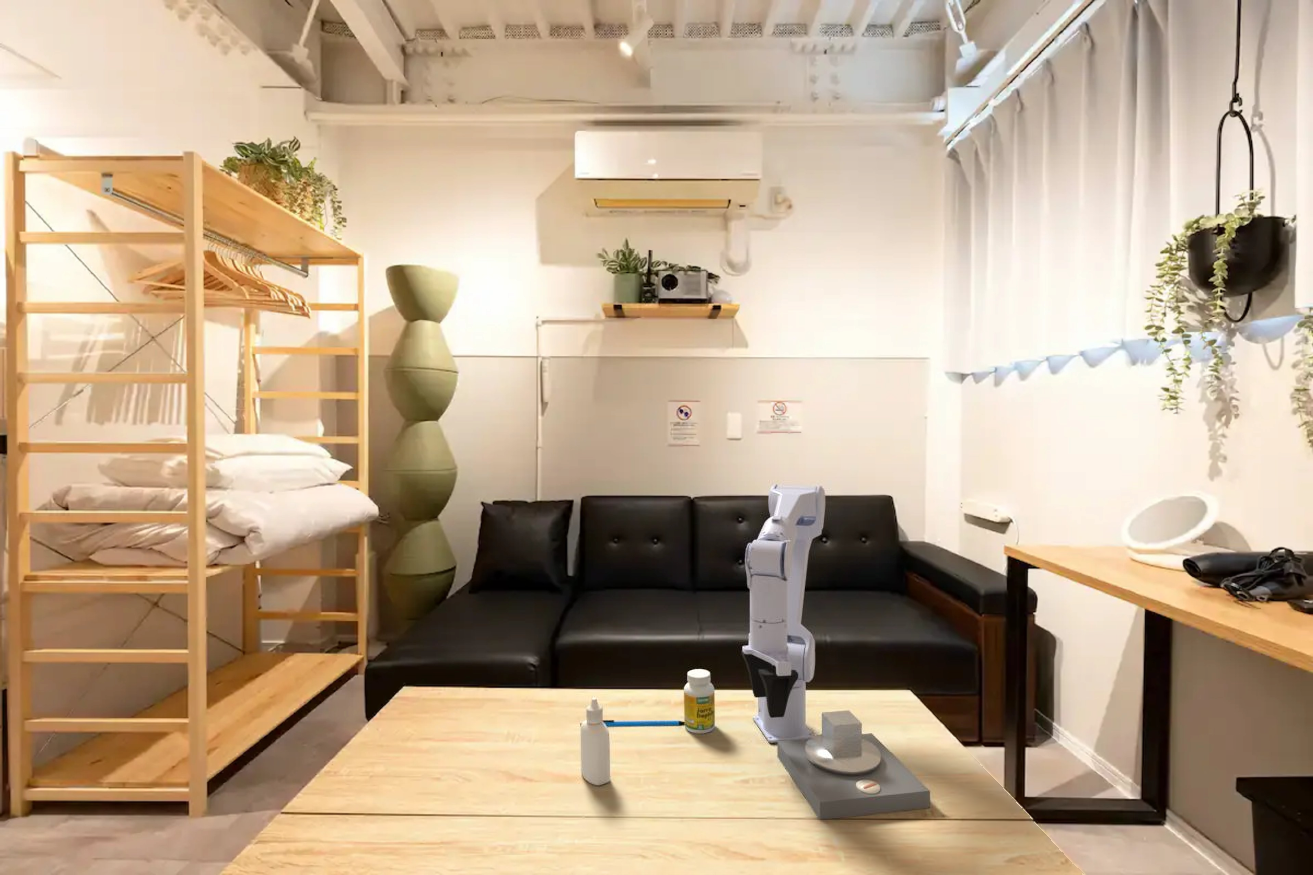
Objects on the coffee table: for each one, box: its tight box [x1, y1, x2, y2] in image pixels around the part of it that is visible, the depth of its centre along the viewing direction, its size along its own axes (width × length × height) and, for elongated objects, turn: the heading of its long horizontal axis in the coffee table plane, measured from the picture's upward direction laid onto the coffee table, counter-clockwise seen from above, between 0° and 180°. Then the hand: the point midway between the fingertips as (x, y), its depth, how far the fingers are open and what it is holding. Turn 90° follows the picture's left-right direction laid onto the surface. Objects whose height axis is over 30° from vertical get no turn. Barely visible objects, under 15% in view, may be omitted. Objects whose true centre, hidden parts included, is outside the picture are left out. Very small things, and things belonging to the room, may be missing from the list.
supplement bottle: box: [683, 668, 716, 735], centre depth 117 cm, size 5×5×10 cm
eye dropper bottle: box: [580, 697, 611, 786], centre depth 101 cm, size 4×6×12 cm
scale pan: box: [805, 733, 881, 775], centre depth 102 cm, size 11×11×1 cm
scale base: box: [776, 732, 931, 821], centre depth 100 cm, size 17×16×3 cm
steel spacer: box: [821, 710, 863, 759], centre depth 102 cm, size 4×4×5 cm
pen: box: [580, 719, 685, 727], centre depth 119 cm, size 1×19×1 cm, turn 91°
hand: (768, 705), depth 104 cm, fingers open, 7 cm apart
